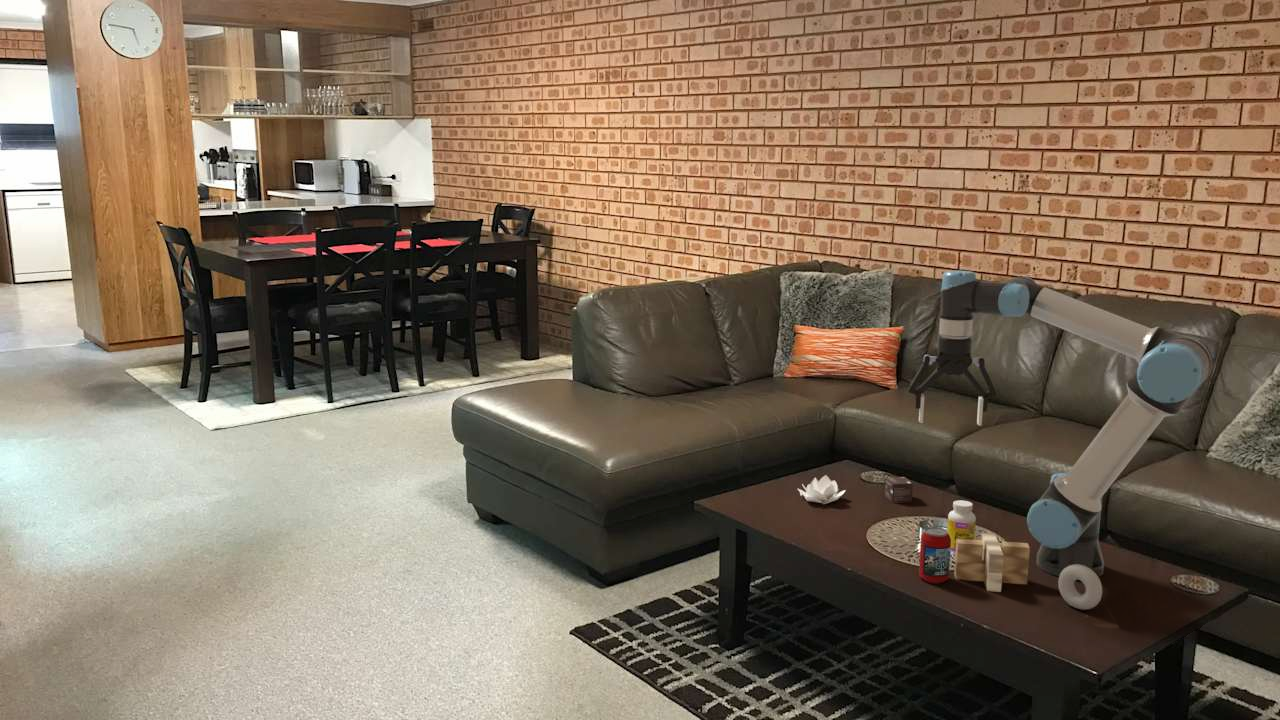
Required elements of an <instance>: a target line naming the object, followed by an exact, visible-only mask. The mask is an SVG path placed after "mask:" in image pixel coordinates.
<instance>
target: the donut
mask: <svg viewBox="0 0 1280 720" xmlns="http://www.w3.org/2000/svg"><path fill="white" fill-rule="evenodd" d="M1077 580H1079V581H1081V582H1082V583H1083V585H1084V588H1085V592H1084V593H1083V594H1082V593H1080V592H1079V591H1078V590H1077V588H1076V586H1075V582H1076V581H1077ZM1057 583H1058V584H1057V585H1058V589H1059V593H1060V595H1061V597H1062V598H1063V599H1064V601H1065V602H1066V603H1067V604H1069V606H1070V607H1073V608H1074V609H1077V610H1082V611H1083V610H1084V611H1086V610H1091V609H1093V608H1095V607H1096V606H1098V605H1099V603H1100V601H1101V599H1102V597H1103V585H1102V582H1101V579H1100V577H1098V576H1097V575H1096V573H1094V572H1093V571H1092V570H1091V569H1090V568H1088V567H1086V566H1084V565H1079V564H1074V565H1069V566H1068V567H1066V568H1065V569H1063V571H1062V572H1061V573H1060V576H1058V581H1057Z"/></svg>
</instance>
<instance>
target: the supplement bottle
mask: <svg viewBox="0 0 1280 720" xmlns="http://www.w3.org/2000/svg"><path fill="white" fill-rule="evenodd" d="M973 505H974V504H973V503H972V502H971V501H968V500H961V499H960V500H955V501H953V503H952V508H953V510H950V512H949V513H948V515H947V527H946V530H947V531H948V534H949V536H950V538H951V549H950V553H951V552H953V553H952V554H954V553H955V555H956V541H957V539H969V540H975V536H976V535H975V533H976V523H977V518H976V514H974V513H973V512H972V511H973V507H974V506H973Z"/></svg>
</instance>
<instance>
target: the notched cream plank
mask: <svg viewBox="0 0 1280 720" xmlns="http://www.w3.org/2000/svg"><path fill="white" fill-rule="evenodd" d="M980 534H981V535H980V540H982V542H983V559H984V562H985V564H986V568H985V581H983V582H984V583H983V584H984V586H985V589H986V591H988V592H996V593H1001V592H1002V585H1003V583H1002V571H1003V558H1004V554H1003V552H1002V550H1001V549H1002V546H1001V545H1000V543H999V541H998V538H997V536H996V534H995V533H994V532H981V533H980Z"/></svg>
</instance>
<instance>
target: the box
mask: <svg viewBox="0 0 1280 720" xmlns="http://www.w3.org/2000/svg"><path fill="white" fill-rule="evenodd" d="M913 486H914V483H913V482H912V481H911V480H910V479H908V478H907V477H906V476H895V477H885V491H884V496H885V497H886V499H888V500H889V501H890V502H891V503H892V504H895V503H911V502H912V501H913V491H914V490H913V489H914V487H913Z"/></svg>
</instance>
